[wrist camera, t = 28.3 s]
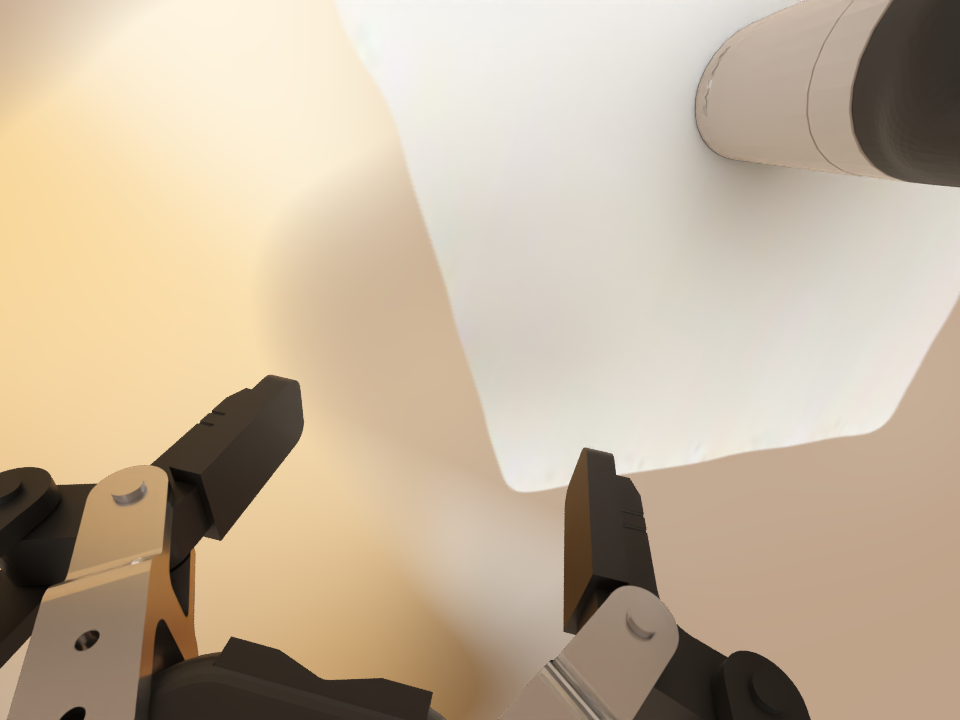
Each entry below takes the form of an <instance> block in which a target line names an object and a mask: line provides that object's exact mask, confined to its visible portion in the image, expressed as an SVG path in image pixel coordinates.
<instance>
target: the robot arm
mask: <svg viewBox="0 0 960 720" xmlns="http://www.w3.org/2000/svg"><path fill="white" fill-rule="evenodd" d="M695 114H696V120H697V126H698V129H699V131H700V134H701V136H702V138H703V140H704V141H705V142H706V144H707V145H708V146H709V148H711V149H712V150H713V151H715V152H716V153H717V154H719V155H721V156H724V157H726V158H729V159H735V160H742V161H749V162H756V163H761V164H769V165H777V166H785V167H792V168H800V169H808V170H816V171H824V172H831V173H839V174H847V175H855V176H865V177H873V178H881V179H889V180H896V181H904V182H913V183H922V184H931V185H941V186H951V187H960V0H804V1H802V2H800V3H797V4H795V5H793V6H790V7H788V8H786V9H783V10H781V11H778V12H776V13H774V14H772V15H769V16H767V17H765V18H763V19H760V20H758V21H756V22H754V23H752V24H750V25H748V26H746V27H745V28H743V29H741V30H739V31H738V32H737V33H735V34H734V35H733V36H732V37H731V38H729V39H728V40H727V41H726V42H725V43H724V44H723V45H722V46H721V48H720V49H719V50H718V51H717V52H716V53H715V55H714V56H713V58H712V59H711V61H710V63H709V64H708V66H707V68H706V69H705V72H704V74H703V76H702V79H701V81H700V84H699V88H698V92H697V97H696V111H695ZM303 426H304V419H303V409H302V400H301V391H300V385H299V383H298V382H297V381H296V380H292V379H287V378H283V377H279V376H274V375H268V376H266V377H265V378H264V379H262V380H261V381H260V382H259V383H258V384H257V385H256V386H255V387H254V388H253V389H248V388H245V389H243V390H241V391H239V392H237V393H235V394H233V395H231V396H229V397H227V398H226V399H224V400H223V401H222V402H221V403H220V404H219V405H218V406H217V407H215V408H214V409H213V410H212V413H209V414H207V416H205V417H204V418H203V419H202V420H201V421H200V423H199V424H196V425H195V426H194V427H193V428H192V429H191V430H189V431H188V432H187V433H186V434H185V435H184V436H183V437H181V438H180V439H179V440H178V441H177V442H176V443H175V444H174V445H173V446H171V447H170V448H169V449H168V450H167V451H166V452H165V453H163V454H162V455H161V456H160V457H159V458H158V459H157V460H156V461H154V462H153V463H152V464H151V465H141V466H133V467H129V468H125V469H123V470H120V471H118V472H115V473H113V474H111V475H109V476H108V477H106V478H105V479H103V480H102V481H100V482H99V483H98V484H76V485H75V484H73V485H56V484H55V482H54V481H53V479H52V477H51V475H50V474H49V473H48V472H47V471H46V470H43V469H41V468H35V467H24V468H16V469H12V470H7V471H4V472H1V473H0V568H1V570H0V668H1V667H2V666H3V665H4V664H5V663H6V662H7V661H8V660H9V659H10V658H11V657H12V655H13V654H14V653H15V652H16V651H17V650H18V649H19V648H20V647H21V646H22V645H23V644H24V643H25V642H26V640H27V639H28V638H29V637H30V636H31V639H30V642H29V645H28V649H27V652H26V656H25V659H24V663H23V666H22V669H21V673H20V677H19V680H18V683H17V687H16V690H15V694H14V697H13V701H12V704H11V707H10V711H9V714H8V718H7V720H446V719H445V718H444V717H443V716H442V715H441V714H439V713H438V712H436V711H435V710H433V709H432V708H431V707H430V704H431V699H432V694H433V692H430V691H426V690H423V689H419V688H416V687H412V686H409V685H405V684H401V683H397V682H394V681H390V680H387V679H383V678H376V679H375V678H373V679H350V680H349V679H348V680H324V679H321V678H319V677H317V676H316V675H315V674H313V673H312V672H311V671H309V670H308V669H306V668H305V667H303V666H302V665H301V664H299V663H297V662H296V661H295V660H293V659H292V658H290V657H289V656H288V655H286V654H285V653H283V652H282V651H280V650H278V649H274V648H271V647H267V646H264V645H260V644H256V643H252V642H249V641H246V640H242V639H238V638H235V637H231V638H230V639H229V641H228V643H227V644H226V646H225V647H224V649H223V651H222V652H217V653H211V654H205V655H201V656H198V648H197V642H196V637H195V630H194V602H195V555H196V554H195V549H194V546H195V545H196V544H197V543H198V542H199V541H200V540H201V538H202V537H203V536H204V537H208V538H212V539H216V540H219V541H221V540H222V539H223V538H224V536H225V535H226V534H227V532H228V531H229V530H230V528H231V527H232V526H233V525H234V523H235V522H236V521H237V520H238V518H239V517H240V516H241V514H242V513H243V512H244V511H245V509H246V508H247V507H248V505H249V504H250V503H251V502H252V500H253V499H254V498H255V497H256V495H257V494H258V493H259V491H260V490H261V489H262V488H263V486H264V485H265V484H266V482H267V481H268V480H269V479H270V477H271V476H272V475H273V473H274V472H275V471H276V469H277V468H278V467H279V465H280V464H281V463H282V462H283V461H284V459H285V458H286V457H287V456H288V454H289V453H290V452H291V450H292V449H293V448H294V447H295V445H296V444H297V442H298V441H299V439H300V437H301V434H302V431H303ZM643 514H644V513H643V507H642V502H641V496H640V494H639V493H638V491H637V489H636V488H635V486H634V485H633V483H632V481H631V480H630V478H627V477H623V476H618V475H616V470H615V462H614V456H613V454H611V453H607V452H603V451H598V450H594V449H589V448H583V450H582V452H581V454H580V457H579V460H578V462H577V465H576V468H575V470H574V473H573V475H572V478H571V481H570V483H569V486H568V490H567V494H566V501H565V534H564V535H565V536H564V632H567V633H570V634H574V635H576V636H575V637H574V638H573V639H572V640H571V641H570V643H569V644H568V645H567V646H566V647H565V648H564V650H563V651H562V652H561V653H560V654H559V655H558V656H557V657H556V658H555V659H554V660H551V661H549V662H548V663H547V664H546V665H545V666H544V667H543V668H542V669H541V670H540V671H539V672H538V673H537V675H536V676H535V677H534V678H533V679H532V680H531V681H530V683H529V684H528V685H527V686H526V687H525V688H524V689H523V691H522V692H521V693H520V694H519V695H518V696H517V697H516V699H515V700H514V701H513V702H512V703H511V704H510V706H509V707H508V708H507V709H506V710H505V711H504V713H503V714H502V715H501V716H500V717H499V718H498V719H497V720H811V719H810V716H809V714H808V710H807V707H806V705H805V703H804V700H803V698H802V696H801V694H800V692H799V691H798V689H797V688H796V686H795V685H794V684H793V682H792V681H791V680H790V678H789V677H788V676H787V675H786V674H785V673H784V672H783V671H782V670H781V669H780V668H779V667H777V666H776V665H775V664H774V663H773V662H771V661H770V660H768V659H767V658H765V657H763V656H761V655H759V654H757V653H754V652H750V651H737V652H735V653H732V654H731V655H730V656H729V657H726V656H724V655H723V654H720V653H719V652H717V651H716V650H714V649H712V648H711V647H709V646H707V645H706V644H704V643H702V642H700V641H699V640H697V639H695V638H693V637H692V636H691V635H689V634H688V633H686V632H685V631H684V630H683V629H681V628H680V627H679V626H678V625H677V624H676V622H675V619H674V617H673V615H672V614H671V612H670V610H669V609H668V608H667V607H666V605H665V604H664V603H663V602H662V601H661V600H660V598H659V595H658V591H657V586H656V580H655V575H654V569H653V564H652V558H651V552H650V547H649V541H648V536H647V533H646V524H645V519H644V517H643Z"/></svg>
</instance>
